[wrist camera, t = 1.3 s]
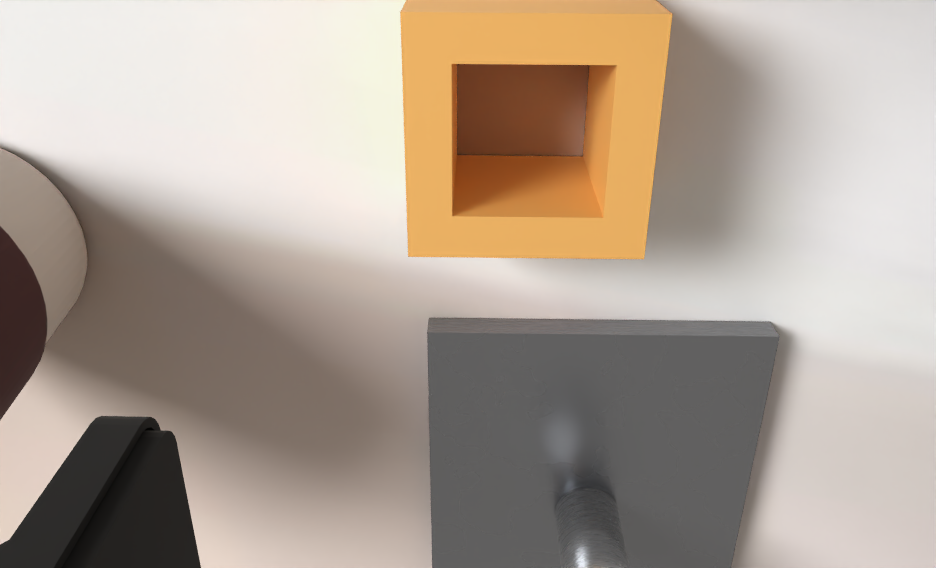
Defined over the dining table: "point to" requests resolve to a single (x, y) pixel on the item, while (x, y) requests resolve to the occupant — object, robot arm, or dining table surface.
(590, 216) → the orange hollow square block
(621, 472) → the keeper
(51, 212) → the coffee cup
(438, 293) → the dining table surface
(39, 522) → the robot arm
